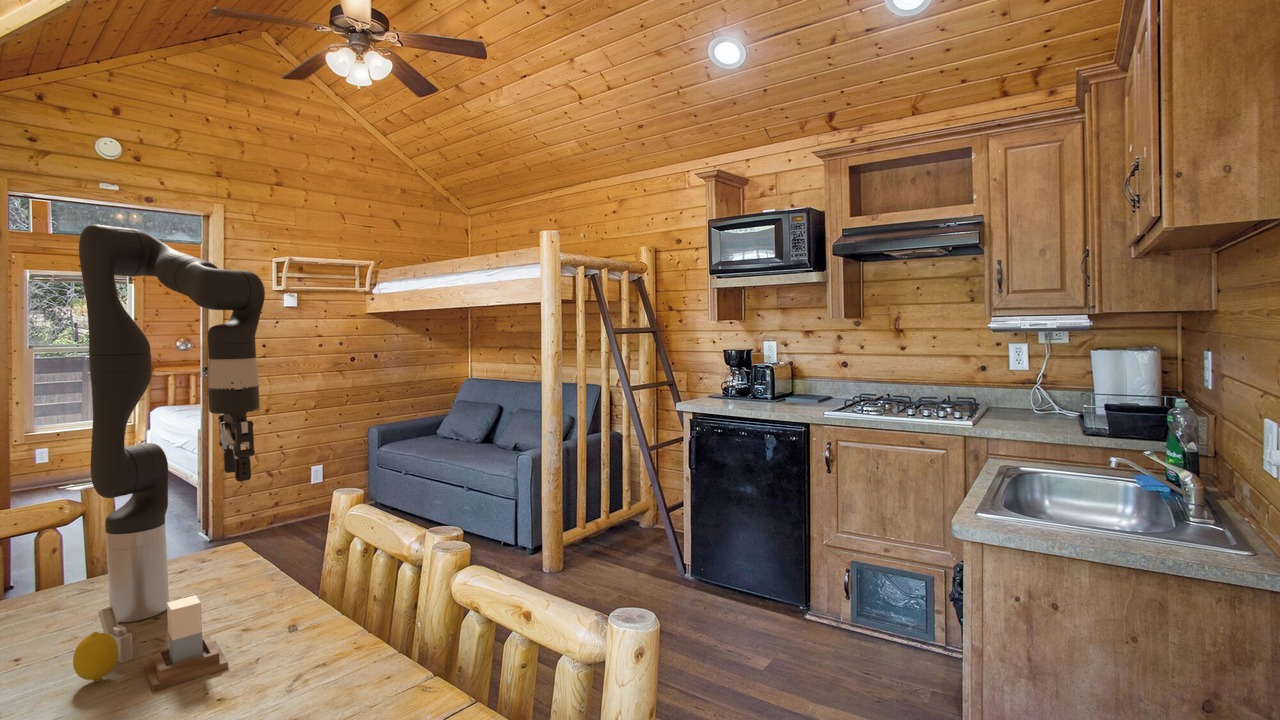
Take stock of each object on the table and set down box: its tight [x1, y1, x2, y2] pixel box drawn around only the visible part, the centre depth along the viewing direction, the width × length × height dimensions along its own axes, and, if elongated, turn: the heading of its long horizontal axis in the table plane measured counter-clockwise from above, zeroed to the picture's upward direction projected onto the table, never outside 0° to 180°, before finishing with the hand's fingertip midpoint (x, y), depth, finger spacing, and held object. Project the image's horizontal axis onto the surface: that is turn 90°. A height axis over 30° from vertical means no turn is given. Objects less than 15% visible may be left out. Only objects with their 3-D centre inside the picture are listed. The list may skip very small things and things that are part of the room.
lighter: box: [97, 606, 134, 664], centre depth 110 cm, size 7×2×8 cm, turn 63°
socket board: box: [143, 636, 229, 693], centre depth 106 cm, size 10×10×2 cm
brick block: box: [166, 594, 203, 665], centre depth 106 cm, size 4×4×10 cm
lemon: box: [72, 631, 119, 683], centre depth 102 cm, size 6×6×8 cm
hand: (237, 476), depth 113 cm, fingers open, 8 cm apart
